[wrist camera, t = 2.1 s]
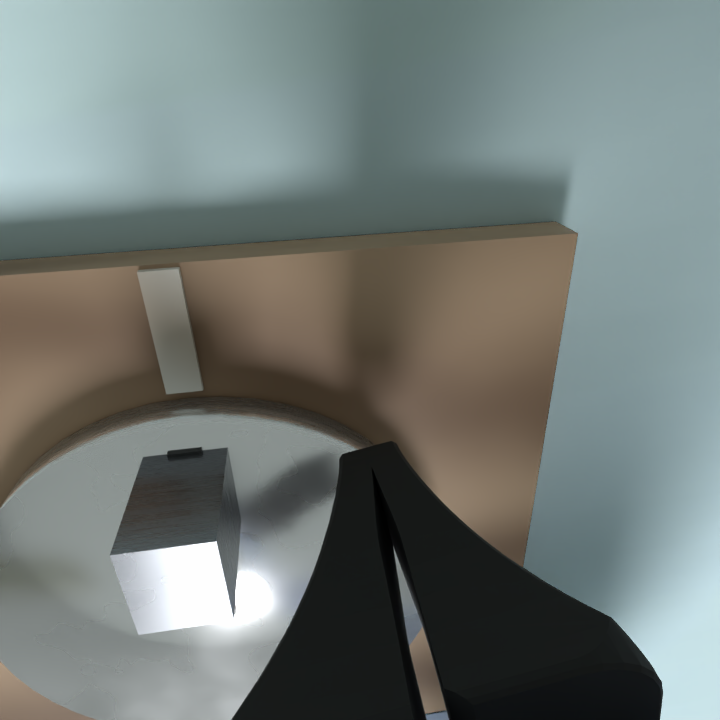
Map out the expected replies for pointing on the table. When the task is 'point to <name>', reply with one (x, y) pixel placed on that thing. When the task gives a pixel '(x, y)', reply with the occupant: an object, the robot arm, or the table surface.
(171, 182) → the table surface
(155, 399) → the plate
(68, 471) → the dial
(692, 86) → the table surface
